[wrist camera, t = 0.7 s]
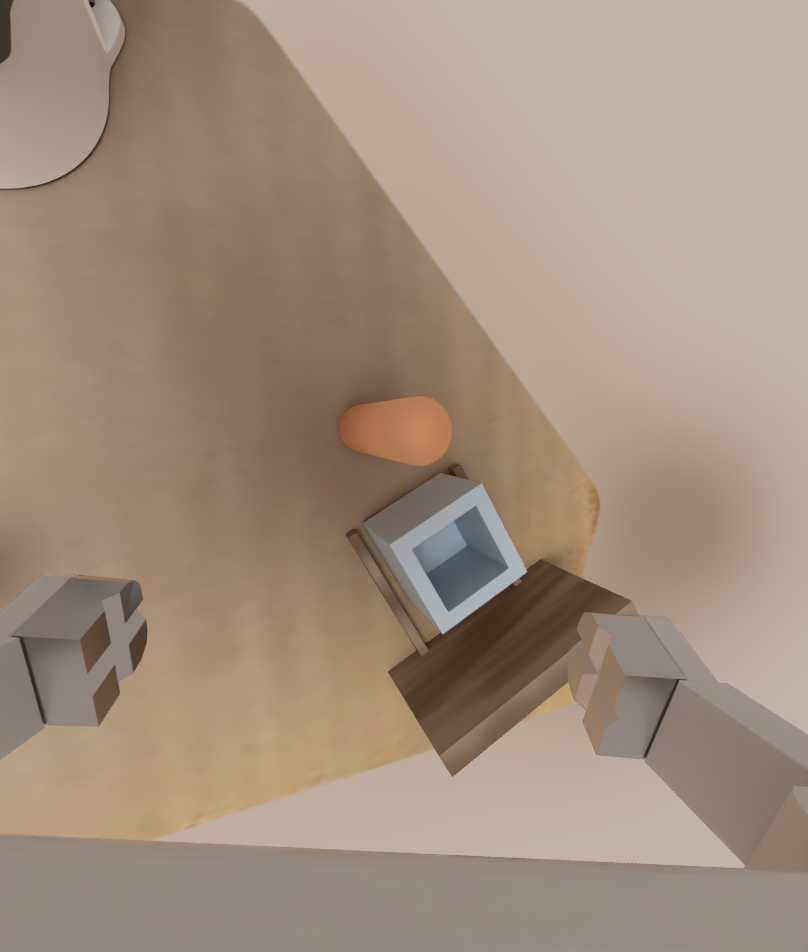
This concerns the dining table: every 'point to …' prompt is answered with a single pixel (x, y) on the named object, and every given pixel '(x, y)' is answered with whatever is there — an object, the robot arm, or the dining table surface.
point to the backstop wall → (493, 655)
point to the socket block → (446, 548)
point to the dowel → (398, 430)
